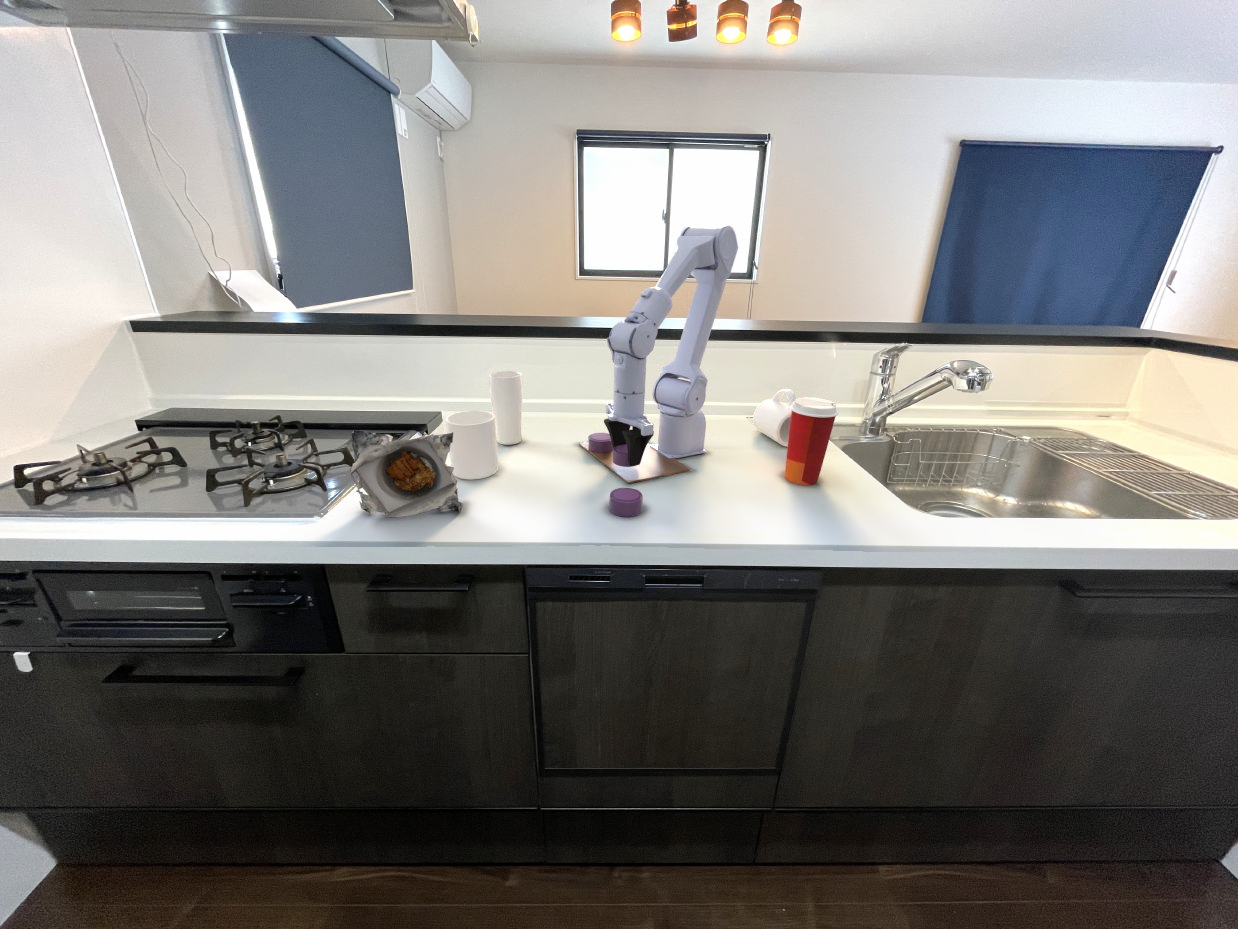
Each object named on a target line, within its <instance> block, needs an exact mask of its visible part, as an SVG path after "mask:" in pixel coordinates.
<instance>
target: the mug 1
mask: <svg viewBox="0 0 1238 929" xmlns="http://www.w3.org/2000/svg"><path fill="white" fill-rule="evenodd" d="M444 421H445V427H446V434H448V433H452V432H453V442H452V443H451V446H450V451H449V453H448V454H449V462H450V467H454V470H453V472H452V474H453V475H454V477H455V478H456V477H457V478H458V479H461V480H469V481H471V480H472V481H473V480H483V479H485V478H490V477H491V476H493V475H495V474H496V473H497V472H498V470H499V464H500V463H499V450H498V441H497V434H496V424H495V415H494V414H493V412H490V411H487V410H479V409H478V410H477V409H476V410H475V409H473V410H462V411H458V412H454V413H450V414H449V415H447V416H446V417H445V420H444Z"/></svg>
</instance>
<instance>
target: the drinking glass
mask: <svg viewBox="0 0 1238 929" xmlns="http://www.w3.org/2000/svg"><path fill="white" fill-rule="evenodd" d="M488 387H489V397H490V403H491V409H492V413H493V414H494V415H495V424H496V437H497V443H498V444H500V445H504V446H512V445H513V446H514V445H517V444H519V443H521V441H522V440H523V435H522V433H523V432H522V429H523V428H522V427H523V426H522V425H523V395H524V394H523V393H524V392H523V377H522V373H521V372H520V371H517V370H508V369H507V370H495V371H491V372H489V373H488Z"/></svg>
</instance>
